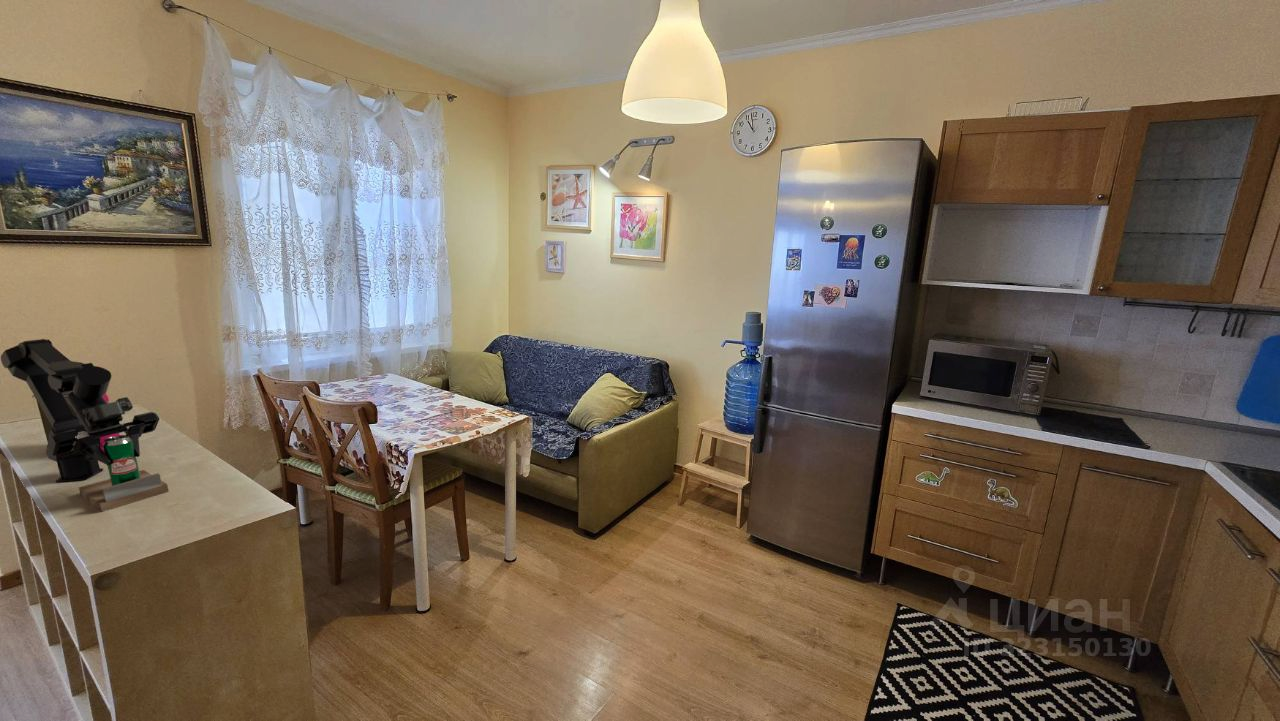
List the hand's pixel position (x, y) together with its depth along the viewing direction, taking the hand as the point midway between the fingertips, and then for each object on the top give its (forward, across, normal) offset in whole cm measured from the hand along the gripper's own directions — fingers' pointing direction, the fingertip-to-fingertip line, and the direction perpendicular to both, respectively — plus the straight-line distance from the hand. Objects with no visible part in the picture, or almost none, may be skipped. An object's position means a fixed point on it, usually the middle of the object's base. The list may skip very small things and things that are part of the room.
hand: (124, 460), depth 124 cm
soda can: (+4, 0, +6) cm, 7 cm away
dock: (+4, 0, +10) cm, 11 cm away
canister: (-32, +8, +47) cm, 57 cm away
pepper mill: (-24, +11, +39) cm, 47 cm away
